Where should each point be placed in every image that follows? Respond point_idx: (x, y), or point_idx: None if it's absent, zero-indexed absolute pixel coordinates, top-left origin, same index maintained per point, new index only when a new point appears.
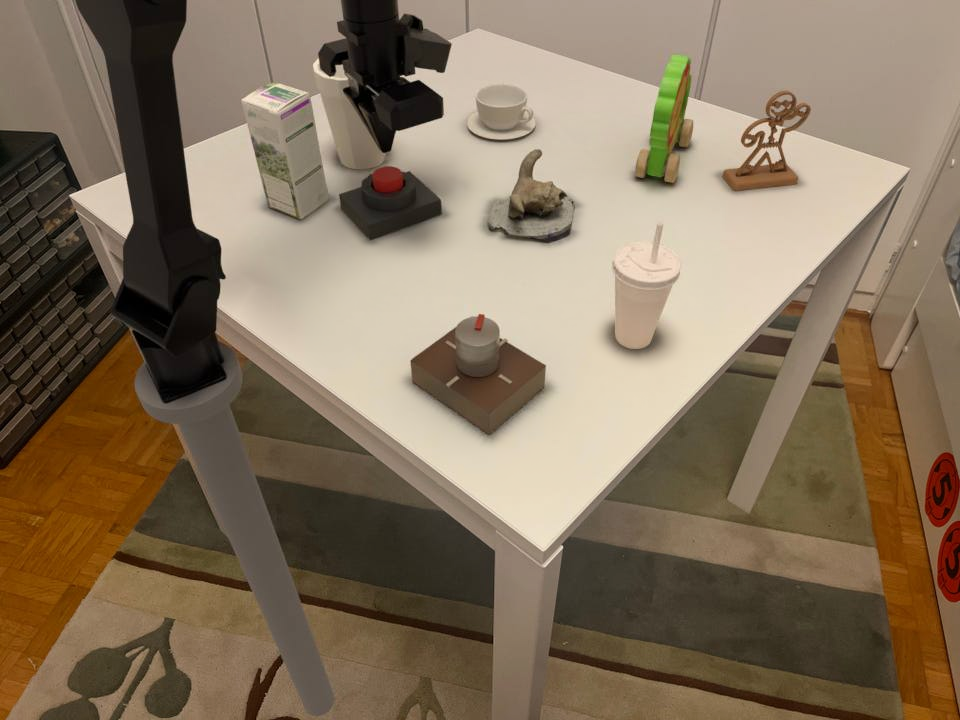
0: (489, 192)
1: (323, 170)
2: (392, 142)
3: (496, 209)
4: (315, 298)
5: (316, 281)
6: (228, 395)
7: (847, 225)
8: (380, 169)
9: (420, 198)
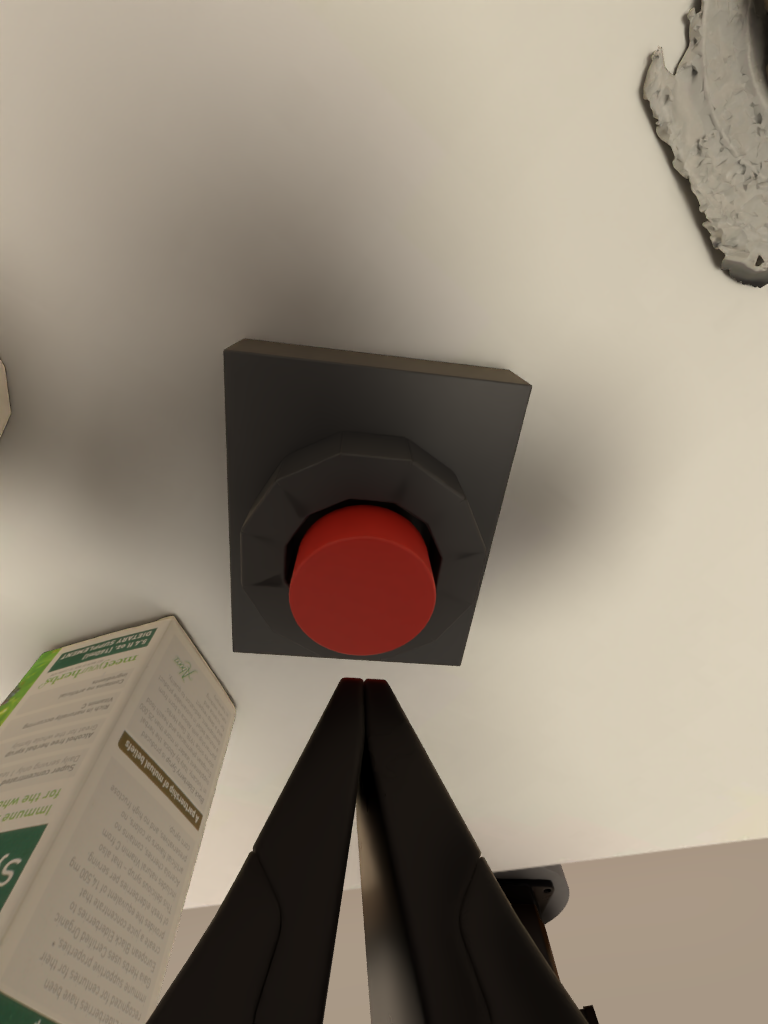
0: (546, 21)
1: (124, 707)
2: (412, 730)
3: (700, 142)
4: (538, 785)
5: (492, 766)
6: (561, 866)
7: None
8: (307, 604)
9: (460, 451)
